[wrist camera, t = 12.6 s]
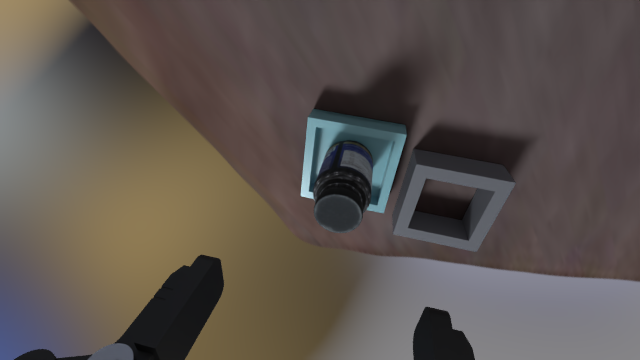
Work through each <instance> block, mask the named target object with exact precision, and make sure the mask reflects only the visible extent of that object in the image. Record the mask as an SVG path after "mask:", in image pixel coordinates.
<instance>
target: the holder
mask: <svg viewBox="0 0 640 360" xmlns="http://www.w3.org/2000/svg"><path fill="white" fill-rule="evenodd" d="M426 178H427V179H433V180H438V181H443V182H448V183H453V184H459V185H464V186H469V187H474V188H477V190H476V192H475V195H474V197H473V199H472V201H471V203H470V205H469V207H468V209H467V211H466V213H465V215H464V217H463V219H462V220H458V219H453V218H448V217H443V216H438V215H433V214H428V213H423V212H418V211H414V210H415V207H416V204H417V202H418V199H419V196H420V194H421V191H422V188H423V185H424V183H425V180H426ZM515 184H516V182H515V181H514V179H513V178H512V177H511V175H510V174H509V172H508V171H507V169H506V168H505V167H504V165H500V164H495V163H489V162H484V161H479V160H473V159H468V158H462V157H457V156H451V155H446V154H440V153H435V152H429V151H424V150H418V149H413V152H412V155H411V158H410V162H409V165H408V168H407V171H406V174H405V177H404V180H403V183H402V187H401V190H400V193H399V196H398V199H397V202H396V205H395V208H394V212H393V215H392V219H393V234H394V235H399V236H404V237H409V238H413V239H418V240H423V241H427V242H432V243H437V244H441V245H446V246H451V247H456V248H460V249H465V250H470V251H474V252H477V250H478V248H479V247H480V245H481V243H482V241H483V240H484V238H485V236H486V234H487V233H488V231H489V229H490V227H491V226H492V224H493V222H494V220H495V219H496V217H497V215H498V213H499V212H500V210H501V208H502V206H503V205H504V203H505V201H506V199H507V198H508V196H509V194H510V192H511V191H512V189H513V187H514V185H515Z"/></svg>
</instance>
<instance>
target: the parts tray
mask: <svg viewBox="0 0 640 360" xmlns="http://www.w3.org/2000/svg"><path fill="white" fill-rule="evenodd" d="M406 136H407V133H406V126H405V125H403V124H397V123H392V122H386V121H380V120H375V119H369V118H363V117H358V116H352V115H346V114H341V113H335V112H329V111H323V110H318V109H313V110H312V112H311V113H310V115H309V117H308V123H307V134H306V144H305V155H304V165H303V176H302V186H301V196H302V197H307V198H312V199H314V198H313V188H314V185H315V182H316V179H317V177H318V174H319V171H320V168H321V166H322V163H323V160H324V158H325V155H326V153H327V151H328V150H329V148H330V147H331V146H332V145H334V144H335V143H337V142H340V141H346V140H352V141H357V142H359V143H361V144H363V145H364V146H365V147H367V149H368V150H369V151H370V153H371V155H372V158H373V175H372V193H371V202H370V204H369V207H368V208H367V210H370V211H375V212H380V213H384V210H385V207H386V203H387V200H388V196H389V193H390V190H391V186H392V183H393V180H394V176H395V173H396V170H397V166H398V163H399V159H400V156H401V153H402V149H403V146H404V143H405V139H406Z"/></svg>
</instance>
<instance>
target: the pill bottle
mask: <svg viewBox="0 0 640 360" xmlns="http://www.w3.org/2000/svg"><path fill="white" fill-rule="evenodd" d="M372 175H373V158H372V155H371V153H370V151H369V150H368V149H367V147H365V146H364V145H363V144H361V143H359V142H357V141H352V140H346V141H340V142H337V143H335V144H334V145H332V146H331V147H330V148H329V150H328V151H327V153H326V155H325V158H324V160H323V163H322V166H321V168H320V171H319V174H318V177H317V179H316V182H315V185H314V188H313V198H314V201H315V206H314V216H315V218H316V220H317V222H318V223H319V224H320V225H321V226H322V227H323V228H325V229H326V230H329V231H331V232H335V233H346V232H350V231H352V230H354V229H355V228H357V227H358V226H359V224H360V223H361V220H362V218H363V213H364V212H365V211H366V210H367V208H368V207H369V204H370V202H371V193H372Z"/></svg>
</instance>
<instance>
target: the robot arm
mask: <svg viewBox="0 0 640 360" xmlns="http://www.w3.org/2000/svg"><path fill="white" fill-rule="evenodd" d="M223 287H224V280H223V273H222V266H221V260H220V259H219V258H214V257H210V256H205V255H200V256H198V257H197V258H196V260H195V261H194V263H193V264H192V265H191V266H190V267H189V266H185V265H184V266H183V267H181V268H180V269H178V270H177V271H175V272H174V273H172V274H171V275H170V276H169V278H168V279H167V280H166V281H165V283H164V284H163V285H162V288H161V289H159V290H158V292H157V293H156V294H155V295H154V298H153V299H151V300H150V302H149V303H148V304H147V306H146V307H145V308H144V309H143V310H142V312H141V313H140V314H139V315H138V317H137V318H136V319H135V320H134V322H133V323H132V324H131V325H130V327H129V328H128V329H127V331H126V332H125V333H124V334H123V335H122V337H121V338H120V339H119V340H118V341H117V342H115V343H114V344H111V345H108V346H105V347H103V348H102V349H100V350H98V351H97V352H95V353H94V354H93V355H86V356H76V357H65V358H56V357H55V356H54V354H53V353H52V352H51V351H49V350H46V349H38V350H33V351H30V352H27V353H25V354H23V355H21V356H19V357H17V358H16V359H14V360H185V358H186V356H187V355H188V353H189V351H190V349H191V348H192V346H193V344H194V342H195V341H196V339H197V337H198V335H199V334H200V332H201V330H202V328H203V327H204V325H205V323H206V322H207V319H208V318H209V316H210V315H211V313H212V311H213V309H214V307H215V306H216V304H217V302H218V301H219V298H220V297H221V294H222V291H223ZM413 355H414V360H475V358H474V354H473V349H472V347H471V345H470V343H469V342H468V340H467V338H466V337H465V335H464V333H463V332H462V331H458V330H454V329H452V324H451V318H450V315H449V313H448V312H447V311H443V310H439V309H435V308H430V307H425V309H424V311H423V313H422V315H421V317H420V320H419V322H418V324H417V326H416V329H415V331H414V337H413Z"/></svg>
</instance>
